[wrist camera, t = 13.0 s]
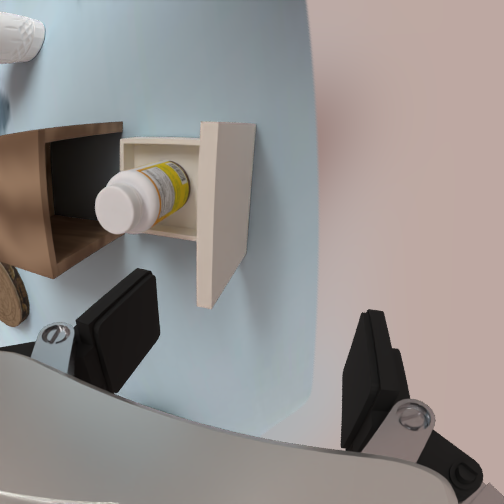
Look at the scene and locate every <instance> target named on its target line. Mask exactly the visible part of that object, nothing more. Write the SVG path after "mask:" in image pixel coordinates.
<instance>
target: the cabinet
mask: <svg viewBox="0 0 504 504" xmlns="http://www.w3.org/2000/svg"><path fill="white" fill-rule="evenodd" d="M122 129H123V122H108V123H94V124H82V125H71V126H62V127H53V128H45V129H38V130H31V131H25V132H19V133H13V134H7V135H2V136H0V261H1V262H3V263H6V264H9V265H12V266H15V267H18V268H21V269H24V270H27V271H30V272H33V273H36V274H39V275H42V276H45V277H48V278H51V279H55V278H56V277H58V276H59V275H61V274H62V273H64V272H65V271H67V270H68V269H70V268H71V267H73V266H74V265H76V264H77V263H79V262H80V261H82V260H83V259H85V258H87V257H88V256H90V255H91V254H93V253H94V252H96V251H98V250H99V249H101V248H102V247H104V246H106V245H107V244H109V243H110V242H112V241H114V240H115V239H117V238H118V237H120V236H122V235H123V234H125V233H123V234H113V233H110V232H108V231H107V230H105V229H104V228H103V227H102V225H101V224H100V223H99V221H96V220H89V219H82V218H75V217H68V216H60V215H55V212H54V202H53V190H52V175H51V151H50V142H53V141H59V140H65V139H71V138H78V137H84V136H92V135H99V134H108V133H117V132H122Z"/></svg>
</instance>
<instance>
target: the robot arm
mask: <svg viewBox="0 0 504 504" xmlns="http://www.w3.org/2000/svg"><path fill="white" fill-rule="evenodd" d="M76 324H77V325H76V326H75V327H74V328H73V327H72V326H71V325H70V324H67V323H63V322H57V323H52V324H49V325H47V326H45V327H44V328H43V329H42V330H41V331H40V332H39V334H38V336H37V339H36V341H35V342H29V343H24V344H18V345H12V346H6V347H1V348H0V504H504V496H503V495H502V494H501V493H500V492H499V491H497V489H495V488H494V487H493V486H492V485H491V484H490V483H488V484H487V485H485V484H484V483H483V473H482V469H481V467H480V465H479V464H478V463H477V462H476V461H475V460H474V459H472V458H471V457H469V456H468V455H467V454H465V453H464V452H462V451H461V450H460V449H458V448H457V447H456V446H454V445H453V444H452V443H450V442H449V441H448V440H446V439H445V438H444V437H442V436H441V435H440V434H438V433H437V432H436V431H434V430H433V428H434V425H435V421H436V420H435V415H434V413H433V411H432V409H431V408H430V407H429V406H428V405H426V404H425V403H423V402H421V401H419V400H416V399H410V395H409V391H408V385H407V380H406V376H405V371H404V366H403V362H402V358H401V353H400V351H399V350H398V349H395V348H392V346H391V342H390V337H389V333H388V328H387V324H386V320H385V316H384V312H383V311H378V310H370V309H369V310H367V312H366V313H363V312H362V313H361V316H360V319H359V323H358V326H357V329H356V333H355V336H354V339H353V342H352V346H351V349H350V352H349V355H348V358H347V361H346V364H345V367H344V371H343V377H342V426H341V448H346V451H342V450H334V449H333V450H332V449H326V448H319V447H312V446H305V445H299V444H293V443H286V442H281V441H275V440H270V439H265V438H260V437H255V436H250V435H246V434H241V433H237V432H233V431H229V430H225V429H221V428H217V427H213V426H209V425H205V424H202V423H198V422H195V421H191V420H188V419H185V418H181V417H178V416H175V415H172V414H168V413H165V412H162V411H159V410H156V409H153V408H151V407H148V406H145V405H142V404H139V403H137V402H134V401H131V400H128V399H126V398H123V397H121V396H118V395H115V394H114V393H117V392H119V390H120V389H121V388H122V386H123V385H124V384H125V382H126V381H127V380H128V378H129V377H130V376H131V374H132V373H133V372H134V370H135V369H136V368H137V366H138V365H139V364H140V362H141V361H142V360H143V358H144V357H145V356H146V354H147V353H148V352H149V350H150V349H151V348H152V347H153V345H154V344H155V343H156V341H157V340H158V338H159V336H160V324H159V313H158V301H157V288H156V277H155V276H154V275H152V272H151V271H149V270H144V269H139V268H137V269H135V270H134V271H133V272H132V273H130V274H129V275H128V276H127V277H126V278H124V279H123V280H122V281H121V282H120V283H118V284H117V285H116V286H115V287H114V288H112V289H111V290H110V291H109V292H108V293H107V294H105V295H104V296H103V297H102V298H101V299H99V300H98V301H97V302H96V303H95V304H94V305H92V306H91V307H90V308H89V309H88V310H87V311H86V312H84V313H83V314H82V315H81V316H80V317H79V318H78V319H76Z"/></svg>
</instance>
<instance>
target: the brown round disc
mask: <svg viewBox="0 0 504 504" xmlns="http://www.w3.org/2000/svg"><path fill="white" fill-rule="evenodd" d="M28 315H29V300H28V295H27V292H26V289H25V286H24V284H23V281H22V279H21V277H20V275H19V273H18V271H17V269H16V268H15V266H12V265H9V264H6V263H3V262H1V261H0V320H1V321H2V322H4V323H5V324H6V325H8V326H11V327H15V326H18V325H19V324H20V323H22V322H23V321H24V320H26V318H27V317H28Z"/></svg>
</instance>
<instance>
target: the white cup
mask: <svg viewBox="0 0 504 504" xmlns="http://www.w3.org/2000/svg"><path fill="white" fill-rule="evenodd" d="M44 36H45V27H44V24H43V23H42V22H40V21H39V20H35V19H30V18H28V17H24V16H20V15H16V14H11V13H6V12H0V64H7V63H14V62H28V61H30V60H32V59H33V58H34V57H35V56H36V55H37V53H38V52H39V50H40V49H41V46H42V43H43V41H44Z"/></svg>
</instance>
